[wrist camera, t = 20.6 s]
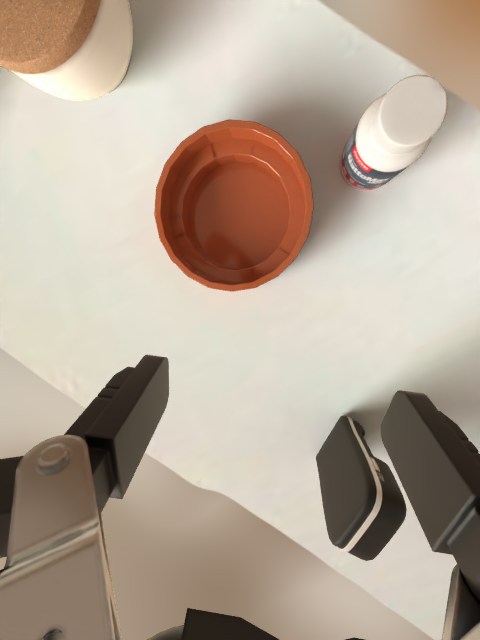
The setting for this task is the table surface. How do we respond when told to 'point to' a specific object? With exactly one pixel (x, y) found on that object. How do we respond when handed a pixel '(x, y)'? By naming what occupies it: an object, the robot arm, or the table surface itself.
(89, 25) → the lidded bowl
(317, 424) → the table surface
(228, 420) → the table surface
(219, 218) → the terracotta bowl
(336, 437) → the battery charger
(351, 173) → the pill bottle
